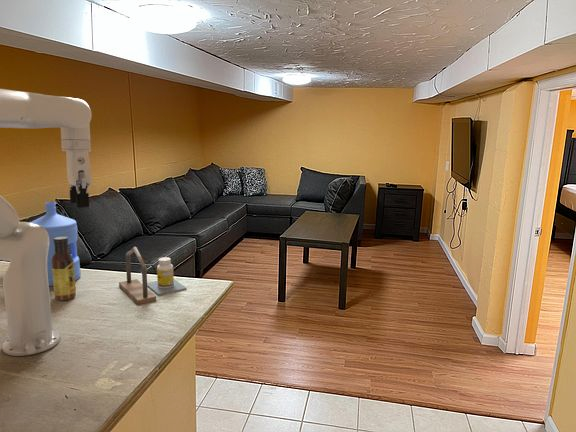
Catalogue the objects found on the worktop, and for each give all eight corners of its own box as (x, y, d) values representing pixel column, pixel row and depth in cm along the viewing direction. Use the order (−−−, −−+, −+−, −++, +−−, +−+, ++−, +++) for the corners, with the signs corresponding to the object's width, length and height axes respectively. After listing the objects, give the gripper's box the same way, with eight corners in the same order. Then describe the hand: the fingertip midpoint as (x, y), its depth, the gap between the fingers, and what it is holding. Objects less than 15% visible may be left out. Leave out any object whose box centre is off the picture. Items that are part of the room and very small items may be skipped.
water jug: (36, 290, 144) (28, 208, 138) (28, 277, 156) (20, 201, 150) (86, 281, 154) (80, 204, 148) (74, 269, 166) (69, 197, 160)
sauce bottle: (75, 300, 137) (70, 239, 133) (53, 302, 135) (47, 241, 131) (77, 292, 143) (72, 234, 139) (55, 295, 141) (50, 236, 137)
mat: (186, 289, 148) (186, 287, 148) (158, 295, 142) (158, 294, 142) (172, 279, 157) (172, 277, 157) (145, 284, 151) (145, 283, 151)
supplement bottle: (157, 284, 151) (156, 257, 149) (172, 282, 153) (172, 256, 151) (158, 289, 146) (157, 261, 144) (174, 287, 148) (173, 260, 146)
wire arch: (156, 300, 138) (154, 252, 135) (137, 304, 135) (135, 255, 131) (136, 283, 153) (134, 239, 150) (119, 286, 149) (116, 241, 146)
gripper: (97, 147, 119) (100, 208, 122) (84, 145, 133) (86, 200, 136) (67, 146, 115) (70, 210, 118) (56, 145, 129) (60, 201, 132)
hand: (79, 204), depth 127 cm, fingers open, 9 cm apart
